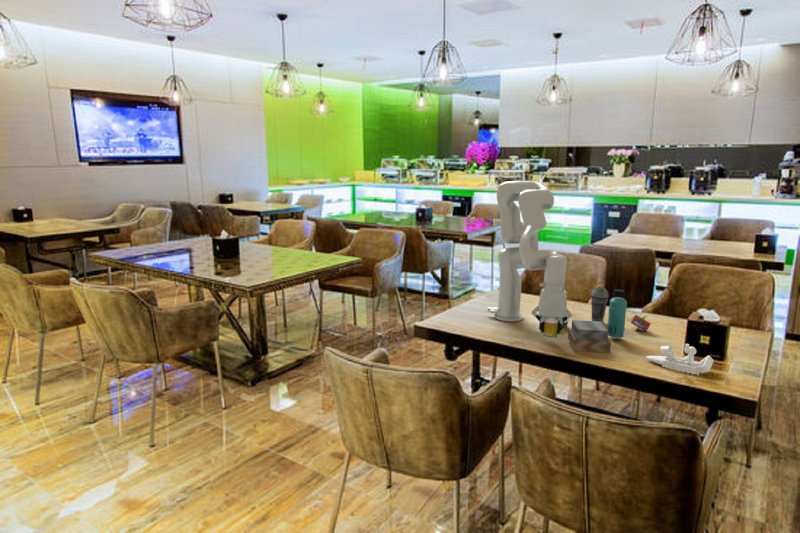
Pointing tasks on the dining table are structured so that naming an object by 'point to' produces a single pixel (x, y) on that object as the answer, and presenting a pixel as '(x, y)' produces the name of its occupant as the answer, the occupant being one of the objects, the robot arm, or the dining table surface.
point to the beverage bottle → (617, 315)
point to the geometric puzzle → (640, 323)
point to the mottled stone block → (589, 336)
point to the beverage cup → (599, 303)
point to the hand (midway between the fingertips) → (550, 331)
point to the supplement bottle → (550, 327)
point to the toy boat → (682, 360)
